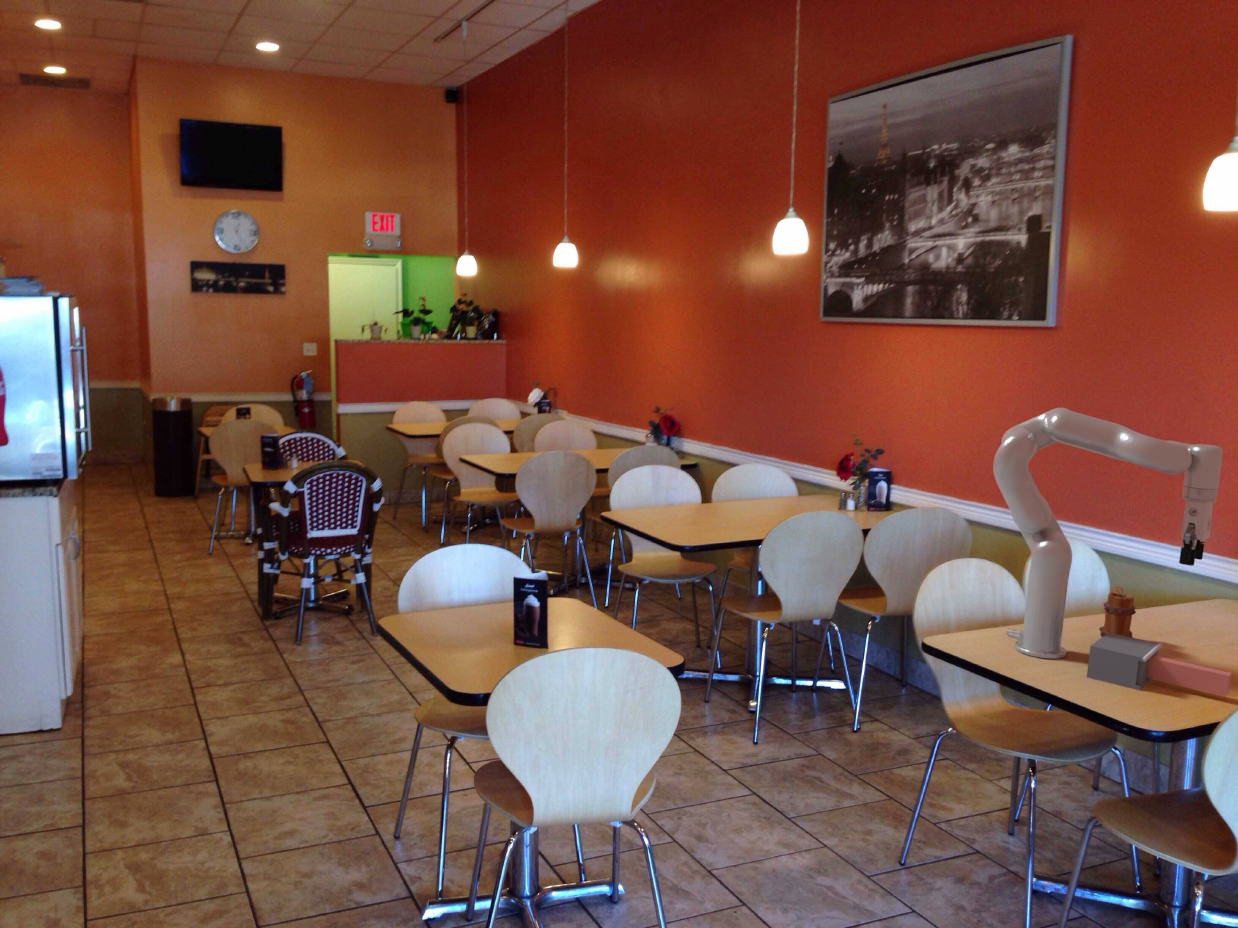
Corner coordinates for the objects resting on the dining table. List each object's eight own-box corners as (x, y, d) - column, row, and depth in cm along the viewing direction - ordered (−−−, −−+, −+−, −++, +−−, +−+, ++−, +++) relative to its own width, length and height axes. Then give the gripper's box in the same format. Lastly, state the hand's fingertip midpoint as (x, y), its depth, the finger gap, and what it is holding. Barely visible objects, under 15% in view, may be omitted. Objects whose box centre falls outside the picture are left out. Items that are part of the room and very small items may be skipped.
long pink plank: (1142, 676, 253) (1145, 656, 252) (1145, 673, 255) (1148, 653, 254) (1226, 696, 242) (1229, 675, 241) (1228, 693, 244) (1231, 672, 243)
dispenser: (1086, 676, 255) (1090, 644, 254) (1104, 662, 267) (1108, 631, 266) (1142, 690, 247) (1146, 657, 246) (1158, 674, 259) (1162, 643, 258)
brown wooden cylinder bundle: (1133, 652, 276) (1140, 598, 274) (1099, 648, 279) (1106, 593, 277) (1127, 637, 290) (1133, 585, 288) (1095, 633, 293) (1101, 581, 290)
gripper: (1209, 500, 248) (1200, 569, 251) (1223, 492, 262) (1214, 559, 264) (1175, 495, 253) (1166, 564, 256) (1190, 488, 266) (1181, 553, 269)
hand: (1190, 561), depth 260 cm, fingers open, 9 cm apart
